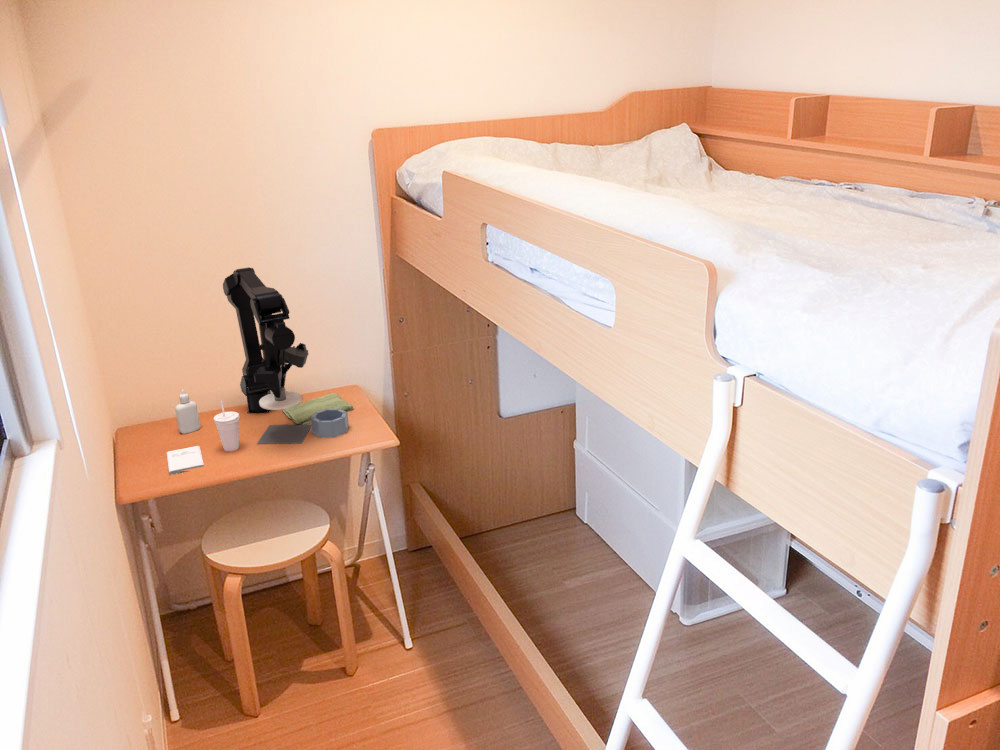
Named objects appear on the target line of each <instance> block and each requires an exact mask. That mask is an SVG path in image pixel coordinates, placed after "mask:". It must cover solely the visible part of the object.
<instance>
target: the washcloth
mask: <svg viewBox="0 0 1000 750" xmlns="http://www.w3.org/2000/svg"><path fill="white" fill-rule="evenodd" d="M324 409H341V410H343V411H346V412H347V413H348V412H351V411H354V406H353V405H352V404H351V403H349V402H347V401H346V400H343V399H342V397H341V396H340V395H338V394H337V393H335V392H333V393H332V392H331V393H329V394H325V395H323V396H319V397H315V398H313V399H310V400H306V401H304V402H300V403H299V404H298V405H296V406H294V407H291V408H287V409H283V411H282V413H284V414H285V415H286V417H287V418H289V419H290V420H291V421H292V422H293V423H295V425H305V424H311V417H312V416H313V414H314V413H315V412H318V411H321V410H324Z"/></svg>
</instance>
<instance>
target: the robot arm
mask: <svg viewBox="0 0 1000 750" xmlns="http://www.w3.org/2000/svg"><path fill="white" fill-rule="evenodd" d="M222 289H223V293H224V295H225V296H226V298H227V301H228V303H229V304H230V305H231V306H232V307H233V308H234V309H235V312H236V316H237V317H236V318H237V321H238V327H239V333H240V336H241V341H242V346H243V352H244V356H245V361H244V364H243V366H242V369H241V370H242V371H241V372H242V376H241V379H240V383H239V387H240V389H241V393H242V394H243V395H245V397H246V401H247V402H246V403H247V407H248V410H247V411H246V414H269V413H270V412H271V411H272V410H268V409H264V408H262V407H260V404H259V400H260V399H261V398H262V397H264V396H266V395H268V394H271V393H273V394H274V396H275V397H276V398H280V394H281V387H285V386H286V377H287V373H288V371H289V370H290V369H291V367H292V366H295V367H296V368H300V369H301V368H304V366H305V365H306V363H307V359H308V356H309V350H308V349H307V346H306V344H305V343H303V342H302V343H301V342H300V343H299V344H298V345H297V346H295V345H294V343H295V341H296V336H295V334H294V332H293V330H292V329H290V327H288V326H287V325H286V322H285V320H290V316H289V314H290V310H289V307H288V305H287V303H286V300H285V298H284V297H283V295H282V294H280V292H279V291H278V290H277V289H275V288H274V287H268V286H266V285H265V283H264V282H263V281H262V280H261V279H260V277H258V275H257V274H256V272H255V269H254V267H243V268H242V267H241V268H237V269H235V270H233V273H231V274H230V275H228V276H226V277H225V278H224V280H223V283H222ZM256 321H257V324H258V329H257V324H256ZM258 330H259V331H258ZM258 332H259V333H258ZM259 337H260V340H259ZM293 345H294V346H293ZM285 388H286V387H285Z"/></svg>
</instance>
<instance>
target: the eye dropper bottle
mask: <svg viewBox="0 0 1000 750" xmlns="http://www.w3.org/2000/svg"><path fill="white" fill-rule="evenodd" d="M179 402H180V403H178V404H177V405H176V406H175V407H174V409H175V416H176V422H177V426H178V427H177V428H178V432H179V433H181V434H182V435H183V434H189V433H194V432H196V431H198V430H199V429H200V428H201V427H202V426H201V422H200V415H199V410H198V405H197V403H196V402H195V401H194V400H193V401H192V400H191V399H190V396H189V393H186V391H185V389H182V390H181V392H180V394H179Z"/></svg>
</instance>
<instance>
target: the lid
mask: <svg viewBox="0 0 1000 750" xmlns="http://www.w3.org/2000/svg"><path fill="white" fill-rule="evenodd" d="M302 401H303V398H302V394H301V393H299V392H295V391H289V390H288V391H287V390H286V387H281V394H280V398H276V397H275V396H274V394H273V393H272V392H271V394H268V395H266V396H264V397H262V398H261V399H260V400H259V404H260V407H262V408H264V409H268V410H271V411H281V410H284V409H287V408H291V407H294V406H296V405H298V404H299V403H302Z"/></svg>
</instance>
